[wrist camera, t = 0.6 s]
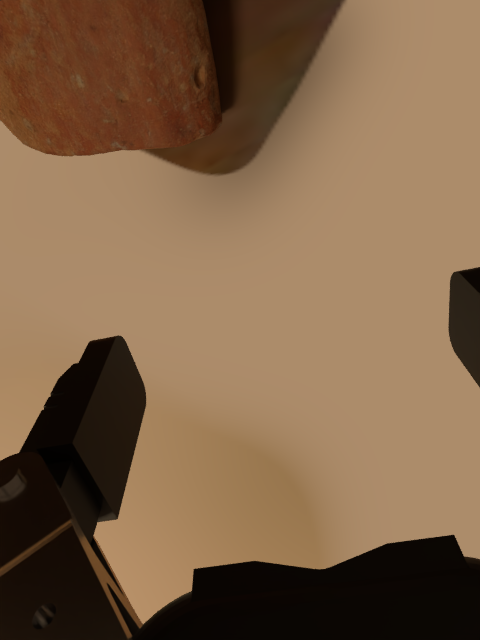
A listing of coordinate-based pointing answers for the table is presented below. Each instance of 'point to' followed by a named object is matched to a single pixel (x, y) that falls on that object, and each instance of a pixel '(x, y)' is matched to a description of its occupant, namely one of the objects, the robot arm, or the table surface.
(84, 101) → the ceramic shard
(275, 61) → the table surface
